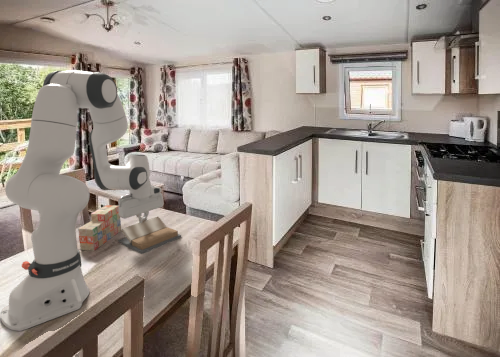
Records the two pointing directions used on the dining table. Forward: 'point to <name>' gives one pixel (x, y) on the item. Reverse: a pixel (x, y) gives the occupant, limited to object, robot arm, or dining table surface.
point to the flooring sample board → (126, 242)
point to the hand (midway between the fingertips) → (143, 221)
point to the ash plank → (143, 228)
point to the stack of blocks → (100, 227)
